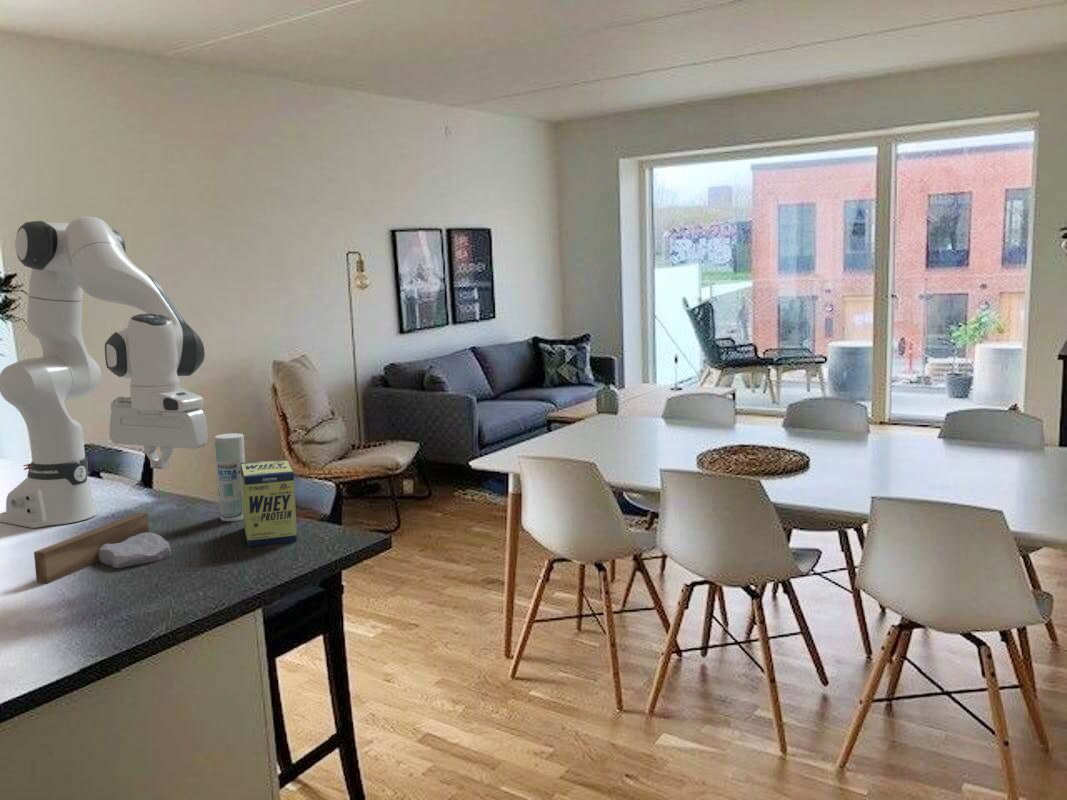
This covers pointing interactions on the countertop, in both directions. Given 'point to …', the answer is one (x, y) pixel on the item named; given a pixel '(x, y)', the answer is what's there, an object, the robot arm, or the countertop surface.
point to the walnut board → (85, 548)
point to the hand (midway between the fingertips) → (159, 468)
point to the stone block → (135, 551)
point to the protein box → (268, 502)
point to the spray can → (230, 475)
